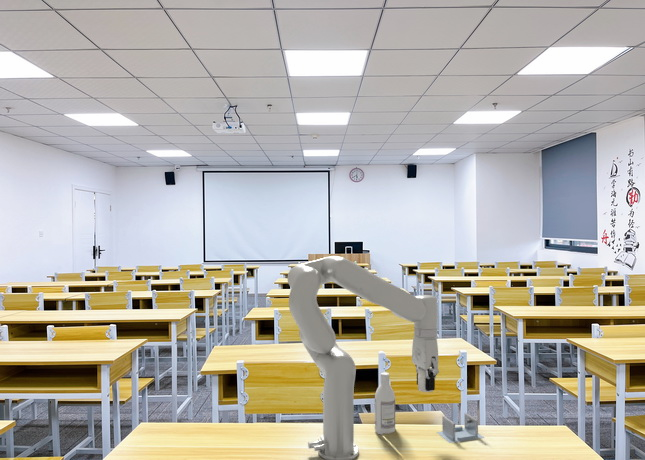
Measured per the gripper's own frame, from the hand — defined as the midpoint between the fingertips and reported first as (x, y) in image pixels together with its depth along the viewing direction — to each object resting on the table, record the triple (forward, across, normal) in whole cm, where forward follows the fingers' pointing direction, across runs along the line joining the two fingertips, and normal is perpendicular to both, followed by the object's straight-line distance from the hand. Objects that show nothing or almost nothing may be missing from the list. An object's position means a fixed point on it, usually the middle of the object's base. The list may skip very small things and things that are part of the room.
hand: (425, 386), depth 147 cm
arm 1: (+16, +3, +7) cm, 18 cm away
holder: (+17, +3, +11) cm, 21 cm away
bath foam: (+17, -8, -11) cm, 22 cm away
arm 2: (+16, +3, +16) cm, 22 cm away
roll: (+1, 0, 0) cm, 1 cm away
